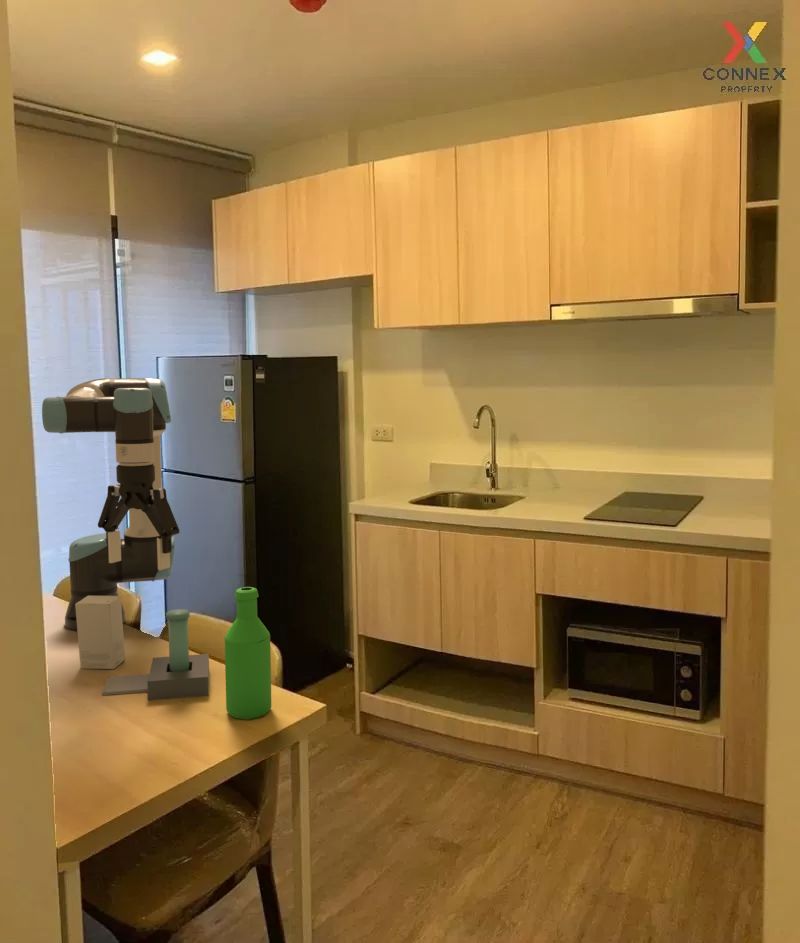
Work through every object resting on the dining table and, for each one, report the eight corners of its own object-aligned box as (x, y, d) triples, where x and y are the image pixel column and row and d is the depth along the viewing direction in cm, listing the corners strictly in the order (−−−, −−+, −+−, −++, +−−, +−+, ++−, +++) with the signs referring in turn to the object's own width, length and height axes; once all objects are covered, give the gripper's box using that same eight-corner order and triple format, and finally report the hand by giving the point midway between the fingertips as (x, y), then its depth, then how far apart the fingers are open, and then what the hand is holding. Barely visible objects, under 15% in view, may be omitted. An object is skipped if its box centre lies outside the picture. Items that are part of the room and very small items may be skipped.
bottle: (263, 699, 168) (261, 581, 164) (277, 715, 160) (275, 591, 157) (221, 707, 163) (218, 586, 160) (233, 724, 156) (230, 597, 153)
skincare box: (125, 660, 190) (123, 595, 188) (113, 670, 183) (110, 603, 181) (91, 659, 191) (88, 594, 189) (77, 669, 184) (74, 602, 182)
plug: (169, 681, 177) (166, 610, 175) (191, 679, 178) (189, 608, 176) (167, 690, 172) (165, 616, 170) (191, 688, 173) (189, 615, 171)
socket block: (153, 675, 181) (152, 657, 180) (209, 671, 183) (208, 653, 183) (148, 700, 167) (147, 681, 167) (208, 695, 170) (207, 676, 169)
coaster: (108, 679, 178) (107, 676, 178) (151, 676, 180) (150, 673, 180) (102, 695, 169) (102, 692, 169) (147, 691, 171) (147, 689, 171)
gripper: (77, 462, 170) (81, 562, 172) (169, 468, 158) (172, 575, 161) (105, 459, 176) (109, 555, 179) (195, 464, 165) (198, 567, 167)
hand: (139, 565), depth 170 cm, fingers open, 13 cm apart
